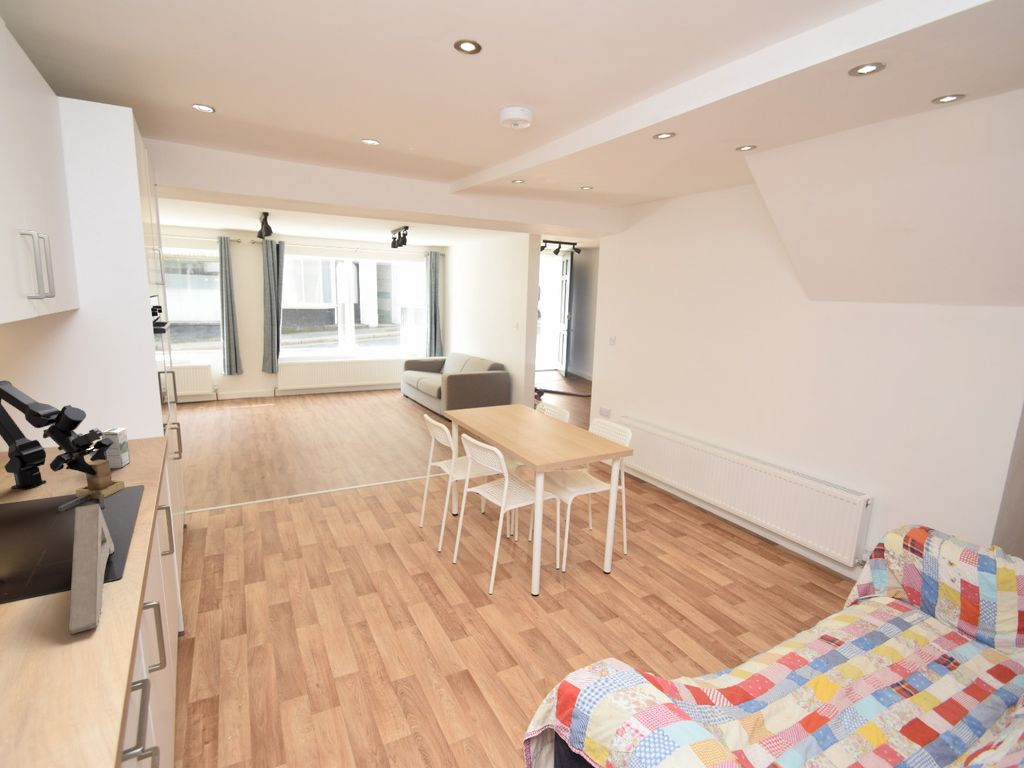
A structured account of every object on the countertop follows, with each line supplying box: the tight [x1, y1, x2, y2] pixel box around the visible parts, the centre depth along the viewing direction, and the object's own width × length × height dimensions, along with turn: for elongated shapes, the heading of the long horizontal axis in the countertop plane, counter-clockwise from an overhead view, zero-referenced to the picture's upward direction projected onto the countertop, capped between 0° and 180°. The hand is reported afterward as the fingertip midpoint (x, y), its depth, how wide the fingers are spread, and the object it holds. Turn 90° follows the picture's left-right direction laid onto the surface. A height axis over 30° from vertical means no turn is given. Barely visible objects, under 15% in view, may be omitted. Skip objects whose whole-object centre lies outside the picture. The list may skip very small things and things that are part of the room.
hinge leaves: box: [57, 479, 126, 513], centre depth 164 cm, size 15×19×2 cm
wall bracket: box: [68, 503, 115, 635], centre depth 120 cm, size 22×4×30 cm
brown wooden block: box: [85, 459, 113, 490], centre depth 168 cm, size 4×4×10 cm
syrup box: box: [101, 427, 131, 469], centre depth 191 cm, size 6×6×14 cm
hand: (101, 471), depth 168 cm, fingers closed on brown wooden block, 4 cm apart
